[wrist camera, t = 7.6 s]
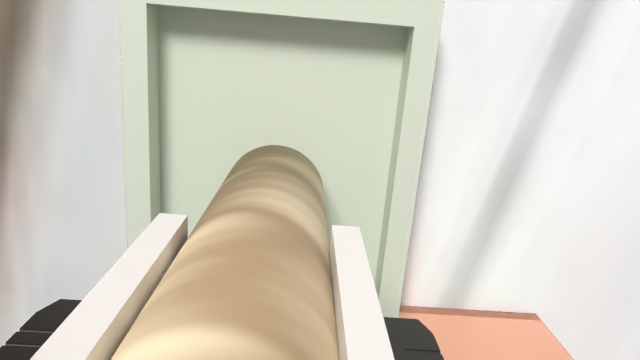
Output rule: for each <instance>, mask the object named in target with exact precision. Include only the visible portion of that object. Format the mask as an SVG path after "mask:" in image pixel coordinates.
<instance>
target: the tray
mask: <svg viewBox="0 0 640 360" xmlns="http://www.w3.org/2000/svg"><path fill="white" fill-rule="evenodd" d="M444 2H445V1H440V0H119V27H120V55H121V83H122V111H123V139H124V167H125V195H126V223H127V249H128V248H129V247H130V246H131V245H132V244H133V243H134V241H135V240H136V239H137V238H138V237H139V236H140V235H141V234H142V232H143V231H144V230H145V229H146V228H147V227H148V226H149V224H150V223H151V222H152V221H153V220H154V219H155V218H156V217H157V215H158V214H159V213H165V214H180V215H188V237H189V235H190V234H191V232H192V231H193V229H194V227H195V226H196V224H197V223H198V221H199V220H200V218H201V216H202V215H203V213H204V212H205V210H206V209H207V207H208V205H209V204H210V202H211V201H212V199H213V197H214V196H215V194H216V193H217V191H218V190H219V188H220V186H221V185H222V183H223V182H224V180H225V179H226V177H227V175H228V174H229V172H230V171H231V169H232V168H233V166H234V165H235V163H236V162H237V161H238V160H239V159H240V158H241V157H242V156H243V155H245V154H246V153H247V152H249V151H251V150H253V149H256V148H258V147H262V146H267V145H280V146H286V147H290V148H292V149H295V150H297V151H299V152H300V153H302V154H303V155H305V156H306V157H307V158H308V159H309V160H310V161H311V162H312V163H313V164H314V165H315V167H316V168H317V170H318V172H319V174H320V176H321V179H322V183H323V191H324V201H325V212H326V223H327V234H328V244H329V250H330V240H331V229H332V225H340V226H354V227H359V228H360V232H361V235H362V239H363V243H364V247H365V250H366V254H367V258H368V262H369V265H370V269H371V273H372V277H373V280H374V284H375V288H376V292H377V295H378V299H379V303H380V307H381V311H382V314H383V317H392V318H398V317H399V310H400V303H401V296H402V289H403V283H404V276H405V269H406V262H407V255H408V248H409V242H410V235H411V228H412V221H413V214H414V207H415V201H416V194H417V187H418V180H419V173H420V166H421V160H422V153H423V146H424V139H425V132H426V125H427V118H428V112H429V105H430V98H431V91H432V84H433V77H434V71H435V64H436V57H437V50H438V43H439V36H440V30H441V23H442V16H443V9H444Z"/></svg>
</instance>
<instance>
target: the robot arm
mask: <svg viewBox="0 0 640 360" xmlns="http://www.w3.org/2000/svg"><path fill="white" fill-rule="evenodd" d="M187 238H188V215H180V214H165V213H159V214H158V215H157V217H156V218H155V219H154V220H153V221H152V222H151V223H150V224H149V226H148V227H147V228H146V229H145V230H144V231H143V232H142V234H141V235H140V236H139V237H138V238H137V239H136V240H135V241H134V243H133V244H132V245H131V246H130V247H129V248H128V249H127V250H126V252H125V253H124V254H123V255H122V256H121V257H120V258H119V259H118V261H117V262H116V263H115V264H114V265H113V266H112V267H111V268H110V270H109V271H108V272H107V273H106V274H105V275H104V276H103V278H102V279H101V280H100V281H99V282H98V283H97V284H96V285H95V287H94V288H93V289H92V290H91V291H90V292H89V293H88V294H87V296H86V297H85V298H84V299H83V300H67V299H60V300H58V301H56V302H54V303H53V304H51V305H49V306H47V307H45V308H43V309H42V310H40V311H38V312H36V313H35V314H34V315H33V316H32V317H31V318H30V319H29V320H28V321H27V322H26V323H25V324H24V325H23V326H22V327H21V328H20V331H19V332H16V333H15V334H14V335H13V336H12V337H11V338H10V339H9V340H8V341H7V342H6V345H5V346H2V347H1V348H0V360H111V358H112V357H113V355H114V353H115V352H116V350H117V349H118V347H119V346H120V344H121V342H122V341H123V339H124V338H125V336H126V335H127V333H128V331H129V330H130V328H131V327H132V325H133V324H134V322H135V320H136V319H137V317H138V316H139V314H140V313H141V311H142V309H143V308H144V306H145V305H146V303H147V301H148V300H149V298H150V297H151V295H152V294H153V292H154V290H155V289H156V287H157V286H158V284H159V283H160V281H161V279H162V278H163V276H164V275H165V273H166V272H167V270H168V268H169V267H170V265H171V264H172V262H173V261H174V259H175V257H176V256H177V254H178V253H179V251H180V249H181V248H182V246H183V245H184V243H185V242H186V240H187ZM329 257H330V267H331V278H332V289H333V300H334V311H335V321H336V332H337V343H338V354H339V360H444V358H443V355H442V354H441V353H440V352H441V351H440V348H439V346H438V344H437V341H436V339H435V337H434V334H433V333H432V332H431V331H430V330H429V329H428V328H427V327H426V326H425V325H424V324H422V323H421V322H420V321H419V320H418V319H408V318H392V317H383V314H382V311H381V307H380V303H379V299H378V295H377V292H376V288H375V284H374V280H373V277H372V273H371V269H370V265H369V262H368V258H367V254H366V250H365V247H364V243H363V239H362V235H361V232H360V228H359V227H354V226H340V225H332V229H331V240H330V250H329Z"/></svg>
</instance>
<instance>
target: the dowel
mask: <svg viewBox="0 0 640 360" xmlns="http://www.w3.org/2000/svg"><path fill="white" fill-rule="evenodd" d="M111 360H339V354H338V343H337V332H336V321H335V311H334V300H333V289H332V278H331V267H330V257H329V244H328V234H327V223H326V212H325V201H324V191H323V183H322V179H321V176H320V174H319V172H318V170H317V168H316V167H315V165H314V164H313V163H312V162H311V161H310V160H309V159H308V158H307V157H306V156H305V155H303V154H302V153H300V152H299V151H297V150H295V149H292V148H290V147H286V146H280V145H267V146H262V147H258V148H256V149H253V150H251V151H249V152H247V153H246V154H245V155H243V156H242V157H241V158H240V159H239V160H238V161H237V162H236V163H235V165H234V166H233V168H232V169H231V171H230V172H229V174H228V175H227V177H226V179H225V180H224V182H223V183H222V185H221V186H220V188H219V190H218V191H217V193H216V194H215V196H214V197H213V199H212V201H211V202H210V204H209V205H208V207H207V209H206V210H205V212H204V213H203V215H202V216H201V218H200V220H199V221H198V223H197V224H196V226H195V227H194V229H193V231H192V232H191V234H190V235H189V237H188V238H187V240H186V242H185V243H184V245H183V246H182V248H181V249H180V251H179V253H178V254H177V256H176V257H175V259H174V261H173V262H172V264H171V265H170V267H169V268H168V270H167V272H166V273H165V275H164V276H163V278H162V279H161V281H160V283H159V284H158V286H157V287H156V289H155V290H154V292H153V294H152V295H151V297H150V298H149V300H148V301H147V303H146V305H145V306H144V308H143V309H142V311H141V313H140V314H139V316H138V317H137V319H136V320H135V322H134V324H133V325H132V327H131V328H130V330H129V331H128V333H127V335H126V336H125V338H124V339H123V341H122V342H121V344H120V346H119V347H118V349H117V350H116V352H115V353H114V355H113V357H112V358H111Z"/></svg>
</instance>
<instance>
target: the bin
mask: <svg viewBox="0 0 640 360" xmlns="http://www.w3.org/2000/svg"><path fill="white" fill-rule="evenodd" d="M398 318H408V319H418V320H419V321H420V322H421V323H422V324H424V325H425V326H426V327H427V328H428V329H429V330H430V331H431V332H432V333H433V334H434V337H435V339H436V341H437V344H438V346H439V348H440V351H441V352H440V353H441V354H442V355H443V358H444V360H574V359H573V358H572V356H571V355H570V354H569V353H568V352H567V351H566V349H565V348H564V347H563V346H562V345H561V343H560V342H559V341H558V340H557V339H556V338H555V336H554V335H553V334H552V333H551V332H550V330H549V329H548V328H547V327H546V326H545V324H544V323H543V322H542V321H541V320H540V319H539V317H538V316H537V315H536V314H529V313H513V312H496V311H479V310H462V309H445V308H429V307H412V306H400V310H399V317H398Z"/></svg>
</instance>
